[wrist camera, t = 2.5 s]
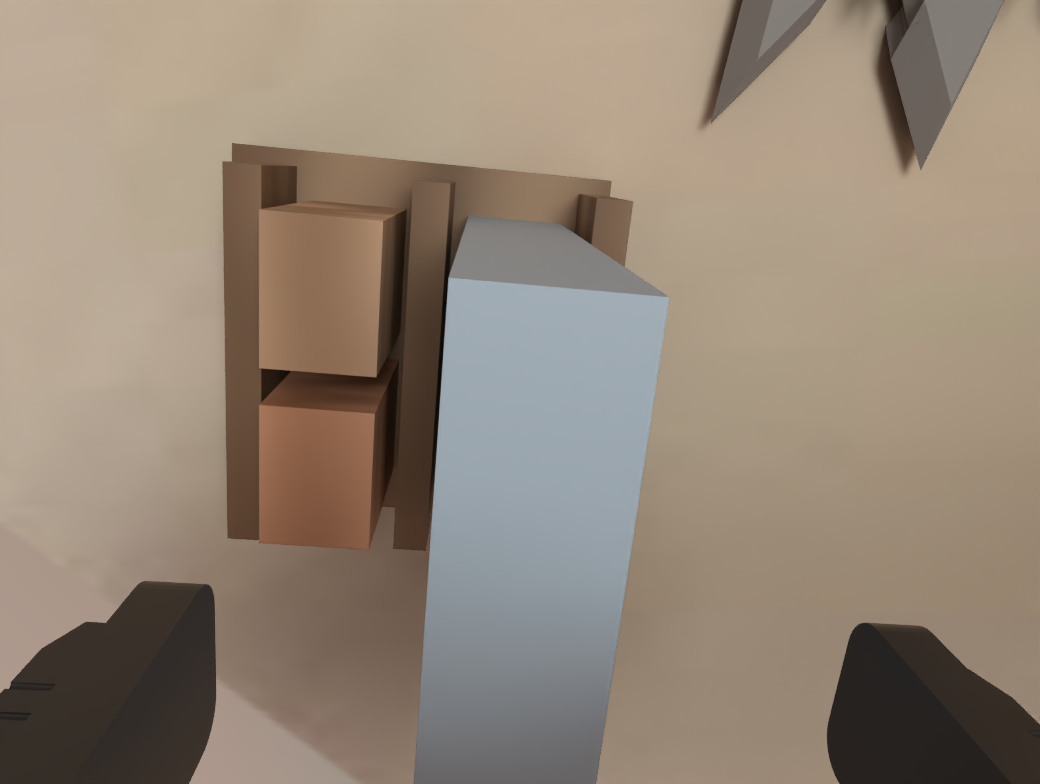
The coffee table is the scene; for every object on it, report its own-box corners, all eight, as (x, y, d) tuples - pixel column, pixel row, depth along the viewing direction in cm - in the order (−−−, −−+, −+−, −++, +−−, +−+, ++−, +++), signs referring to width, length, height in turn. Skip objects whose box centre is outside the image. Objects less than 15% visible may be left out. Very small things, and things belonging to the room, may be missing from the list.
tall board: (560, 223, 25) (669, 297, 10) (533, 478, 27) (589, 825, 13) (468, 215, 24) (448, 277, 10) (449, 472, 27) (411, 818, 12)
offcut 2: (398, 359, 26) (374, 413, 20) (393, 468, 27) (368, 549, 21) (309, 352, 25) (259, 405, 20) (307, 462, 26) (259, 542, 21)
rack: (604, 180, 26) (635, 183, 20) (565, 501, 29) (583, 574, 24) (246, 145, 25) (182, 137, 20) (248, 480, 28) (194, 551, 23)
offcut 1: (406, 209, 24) (383, 220, 18) (400, 330, 25) (376, 377, 20) (312, 200, 24) (258, 209, 18) (310, 323, 25) (258, 367, 19)
